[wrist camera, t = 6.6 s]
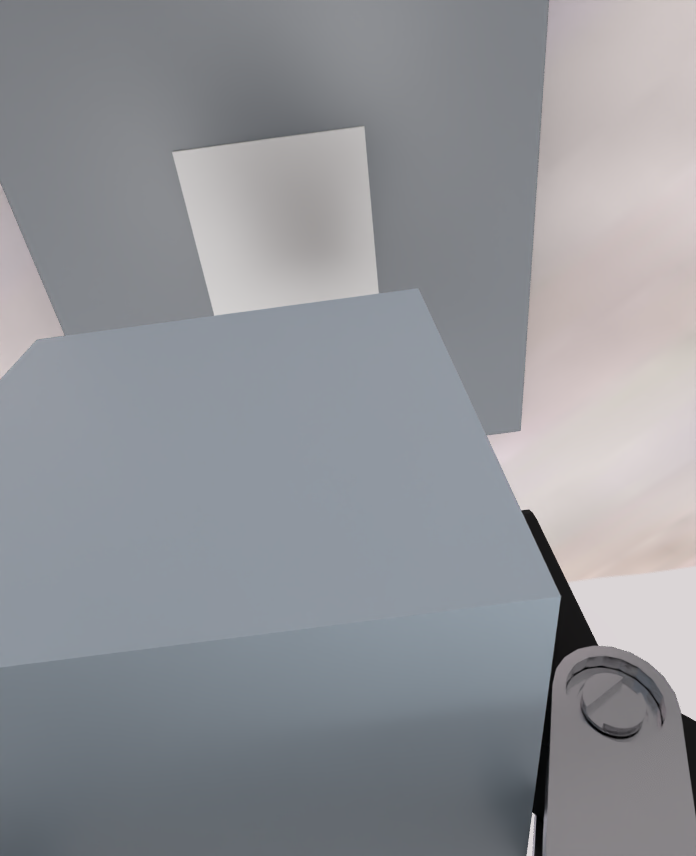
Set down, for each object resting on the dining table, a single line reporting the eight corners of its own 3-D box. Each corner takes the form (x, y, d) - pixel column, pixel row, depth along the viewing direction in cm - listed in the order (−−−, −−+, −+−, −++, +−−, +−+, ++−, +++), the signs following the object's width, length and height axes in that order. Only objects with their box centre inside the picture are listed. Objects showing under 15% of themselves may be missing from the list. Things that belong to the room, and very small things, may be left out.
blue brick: (37, 339, 9) (-297, 704, 4) (418, 288, 9) (560, 596, 4) (179, 651, 13) (105, 1008, 8) (435, 619, 13) (512, 961, 8)
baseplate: (-62, -10, 19) (-86, -14, 18) (542, -94, 19) (558, -103, 18) (132, 467, 30) (125, 483, 29) (513, 418, 30) (521, 433, 29)
